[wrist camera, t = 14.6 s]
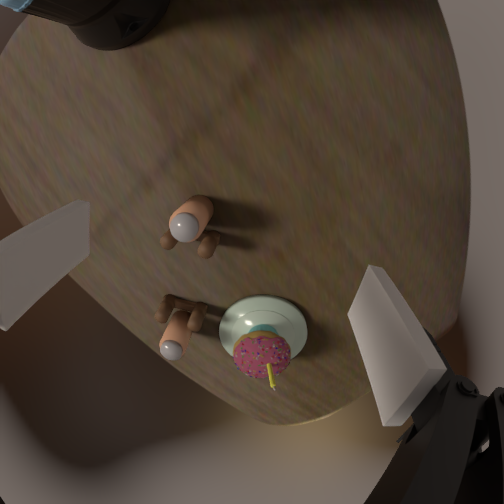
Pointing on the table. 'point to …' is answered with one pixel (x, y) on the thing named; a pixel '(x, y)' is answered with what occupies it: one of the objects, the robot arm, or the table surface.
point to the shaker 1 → (191, 218)
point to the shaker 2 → (176, 336)
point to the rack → (169, 301)
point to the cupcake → (262, 353)
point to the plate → (263, 321)
